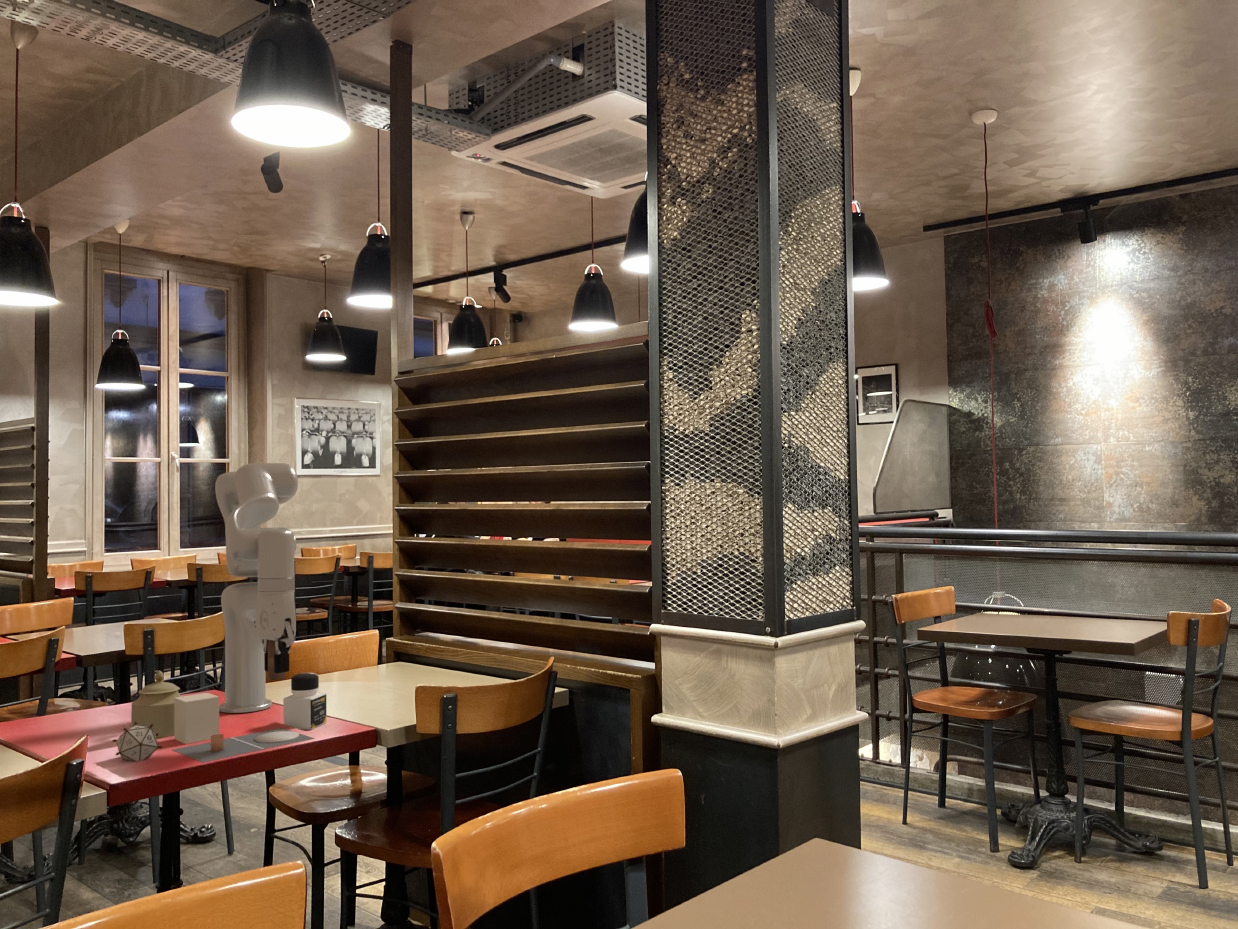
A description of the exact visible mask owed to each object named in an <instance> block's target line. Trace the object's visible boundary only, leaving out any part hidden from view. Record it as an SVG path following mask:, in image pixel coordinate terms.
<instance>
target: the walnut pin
mask: <svg viewBox="0 0 1238 929" xmlns="http://www.w3.org/2000/svg"><path fill="white" fill-rule="evenodd" d="M279 639H285V636H282V637H281V638H279ZM284 642H285V641H284ZM281 644H282V642H280V646H281ZM275 654H276V648H275V641H272V640H268V671H267V680H268V681H279V680H284V679H286V677H287V674H286V673H287V672H283V673H274V655H275Z"/></svg>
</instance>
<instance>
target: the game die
mask: <svg viewBox="0 0 1238 929" xmlns="http://www.w3.org/2000/svg"><path fill="white" fill-rule="evenodd" d="M134 725H135V726H133V727H130V728H127V727H123V730H124V732H123V733H122V734H121V735H120V736H119V737H118V738H117V739H116V738H114V739H111V740H112V742H113V743H116V745H117V750H118V751H117V752H115V756H117V757H118V756H119V755H120V756H121V758H122V759H123V761H130V762H131V761H133V762H141V761H144V760H146V759H147V758H148V759H149V757H150V756H152V755H153V754H154V753H155V752H156V751H157V750H158V749H160V750H162V749H163V748H164V747H163V746H161V745H159V743H158V739H156V736H158V733H156V734H154V732H153V730H152V728H151V727H153V724H151V725H150V727H148V726H140V725H137V722H136V721H135V723H134Z"/></svg>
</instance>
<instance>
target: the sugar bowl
mask: <svg viewBox="0 0 1238 929" xmlns="http://www.w3.org/2000/svg"><path fill="white" fill-rule="evenodd" d="M164 677H165V675H164V673H163V671H161V670H158V671H157V672H156V673H155V674H154V680H155V682H153V683H151V684H148V685H145V686H144V687H143V688H142V689H140V690H139V691H138V694H139V697H138V698H137V699H135V700H134V701H132V703H131V712H130V713H131V714H130V716H131V718H130V719H131V722H130V723H131V727H133V726H135V725H134V723H135V721H136V722H137V725H140V726H148V727H150V725H151V724H153V727H151V728H152V730H153V732H154V734H156V733H158V736H156V739H157V740H159V739H165V738H169V737H174V698H176V697H183V696H184V695H181V694H180V693H179V690H180V689H181V688H180V687H179V686H177V685H176V684H174V683H171V682H167V681H166V682H165V681H163V680H164ZM131 727H130V728H131Z"/></svg>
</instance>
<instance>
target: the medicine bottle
mask: <svg viewBox="0 0 1238 929" xmlns="http://www.w3.org/2000/svg"><path fill="white" fill-rule="evenodd" d="M319 681H320V680H319V675H318V674H317V673H314V672H302V673H296V674H294V675H293V676H292V677H291V679H290V684H291V685H290V686H291V687H290V688H291V691H290V692H291V695H288V696H286V697H285V696H284V698H283V700H282V701H283V702H282V703H283V704H282V705H283V706H282V707H283V726H287V727H291V728H292V729H293V728H294V729H297V730H302V731H304V730H305V731H311V730H314V729H316V728H319V727H320V726H322V725H324V724H326V723H327V693H326V692H322V691H321V692H319V690H320V689H319V688H320V687H319V685H320V684H319Z"/></svg>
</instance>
